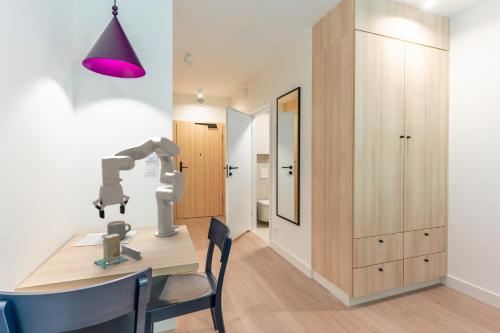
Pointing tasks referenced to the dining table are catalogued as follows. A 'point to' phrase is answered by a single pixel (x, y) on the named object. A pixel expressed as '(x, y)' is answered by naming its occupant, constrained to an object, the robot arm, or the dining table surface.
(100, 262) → the pad
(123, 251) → the grey drawer handle
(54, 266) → the dining table surface
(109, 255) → the skincare box
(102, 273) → the dining table surface
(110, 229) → the coffee mug
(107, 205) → the robot arm
